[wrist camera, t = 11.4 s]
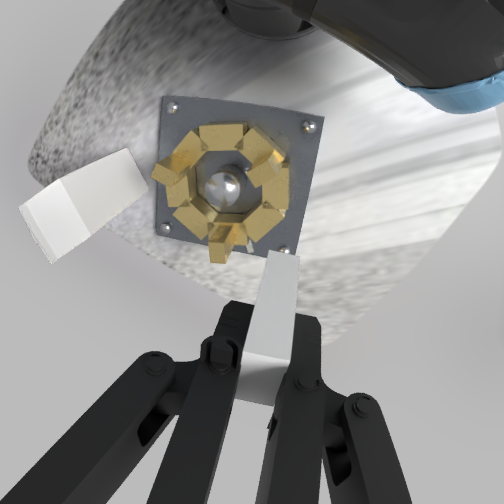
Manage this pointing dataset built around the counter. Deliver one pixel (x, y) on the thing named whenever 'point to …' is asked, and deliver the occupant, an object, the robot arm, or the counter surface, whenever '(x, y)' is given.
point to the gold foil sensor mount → (260, 173)
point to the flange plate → (240, 166)
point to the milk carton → (82, 203)
